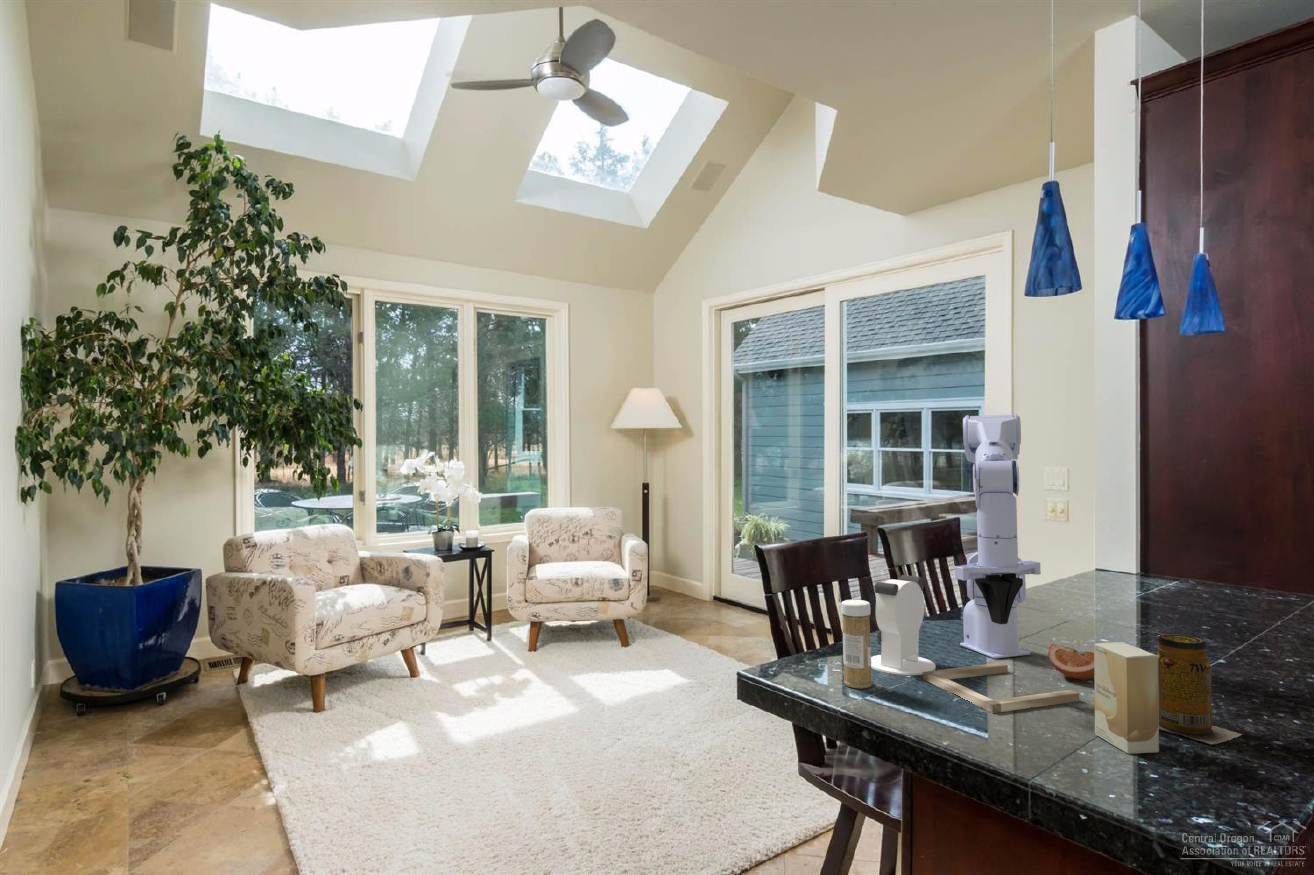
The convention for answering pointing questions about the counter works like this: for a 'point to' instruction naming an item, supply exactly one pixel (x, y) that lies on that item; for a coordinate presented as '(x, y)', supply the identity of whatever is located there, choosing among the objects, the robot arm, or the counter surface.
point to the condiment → (1187, 690)
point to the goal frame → (993, 706)
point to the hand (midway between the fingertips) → (999, 622)
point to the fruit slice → (1072, 662)
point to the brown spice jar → (856, 643)
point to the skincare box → (1126, 697)
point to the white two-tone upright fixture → (900, 626)
